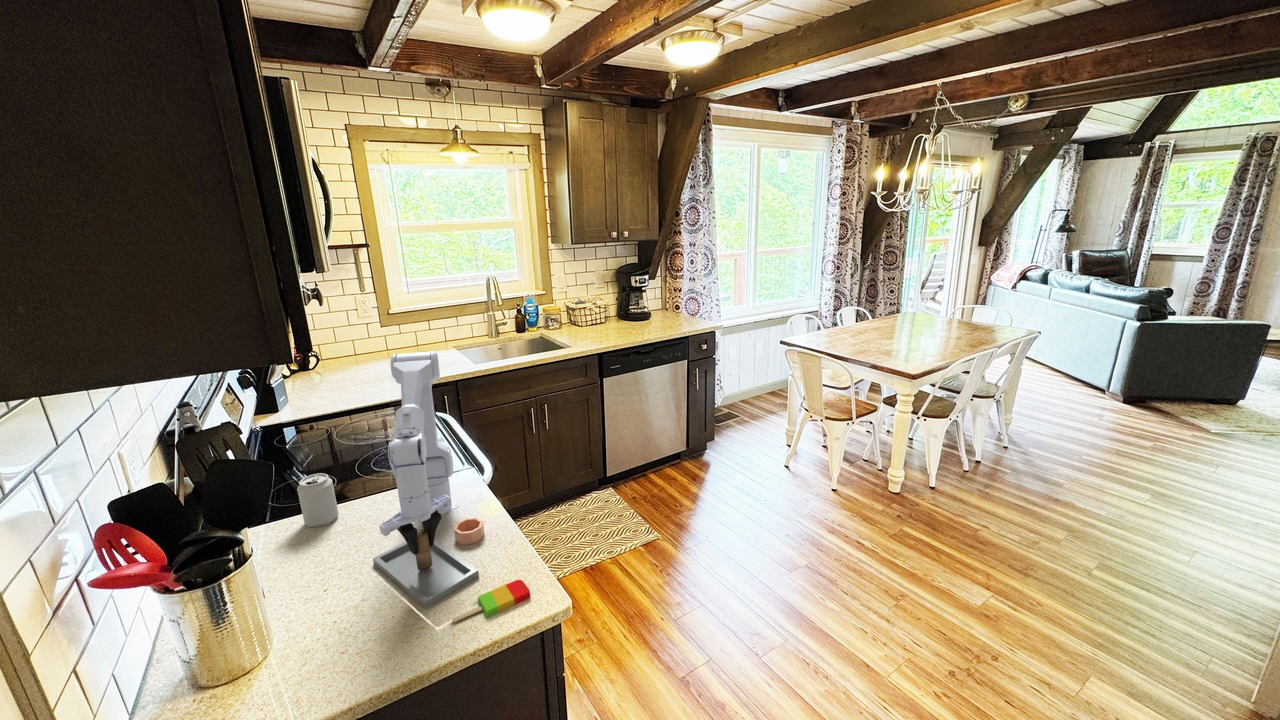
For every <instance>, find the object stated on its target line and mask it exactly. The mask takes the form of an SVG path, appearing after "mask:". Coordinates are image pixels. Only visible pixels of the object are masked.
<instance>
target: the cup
mask: <svg viewBox="0 0 1280 720" xmlns="http://www.w3.org/2000/svg"><path fill="white" fill-rule="evenodd" d="M484 526H485V525H484V520H481V519H480V518H478V517H470V518H464V519H462V520H460V521H458V522H456V523H455V526H454V529H453V532H454V533H453V534H454V541H455V542H456V543H458V544H460V546H463V545H473V544H475V543H477V542H479V541H480V540H482V539H483V538H484V534H485V527H484Z"/></svg>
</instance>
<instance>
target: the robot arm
mask: <svg viewBox="0 0 1280 720" xmlns="http://www.w3.org/2000/svg"><path fill="white" fill-rule="evenodd" d="M439 364H440V363H439V356H438V354H437V352H436V351H435V350H431V351H421V352H419V351H418V352H408V353H393V354H392V355H391V357H390V372H391V376H392V378H393V379H394V381H395V382H396V384H399V385H400V390H401V391H400V393H401V394H400V395H401V397H400V398H401V407H400V408H397V410H396V412H395V413H394V425H393V427H394V428H393V437H392V441H389V443H388V446H387V457H388V461H389V465H390V468H391V471H392V475H393V477H395V481H396V486H397V487H396V488H397V493H398V499H399V505H400V511H399V512H397V513H396V514H395V515H393V516H391V517H390V518H389V519H387V520H385V521H384V522H382V523H380V524H379V531H380V534H382V535H383V536H384V537H387V536H389V535H390V534H391V532H392V533H393V532H394V531H396V530H397V531H398V532H399V533H400V535H401V536H402V537H403V539H404V541H405V542H407V544H408V546H409V548H410V551H411V552H412V553H413V554H414V555H416V554H418V545H417V531H419V530H418V528H416V527H415V526H414V523H416V522H421V525H422V528H423V529H422V530H427V531H428V537H429V544H430V547H431V546H433V545H434V540H435V537H436V533H437V529H438V526H439V524H440V522H441V520H442V515H445V514H447V513H449V512H451V511H453V510H455V509H457V508H459V507H460V505H459V504H457V503H455V502H453V501H452V494H451V489H450V487H451V486H450V479H449V478H451V477H452V476H453V474H454V462H453V461H454V460H453V455H452V451H451V448H450V446H449V445H447V444H445V443H443V442H440V441H439V440H438V432H437V430H438V429H437V425H436V424H437V423H436V415H435V413H436V412H435V406H434V398H433V391H432V387H433V383H434V382H436V381H438V380H440V377H441V375H440V365H439Z"/></svg>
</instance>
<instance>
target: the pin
mask: <svg viewBox="0 0 1280 720" xmlns="http://www.w3.org/2000/svg"><path fill="white" fill-rule="evenodd" d="M417 545H418V554H416V562H417V568H418V570H420V571H424V570H427V569H429V568H431V567H432V558H431V551H430V544H429V537H428V531H427V530H424V529H420V530H417Z"/></svg>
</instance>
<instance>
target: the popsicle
mask: <svg viewBox="0 0 1280 720" xmlns="http://www.w3.org/2000/svg"><path fill="white" fill-rule="evenodd" d="M530 597H531V591H530V589H529V588H528V586H527V585H526V583H525V582H524V581H523V580H522V579H516V580H513V581H511V582H509V583H506V584H504V585H501V586H499V587H497V588H495V589H491V590H490V591H486V592H485V593H482V594H480V595H478V597H477V601H478V605H479V606H478V607H476V608H473V609H471V610H468V611H466V612H465V613H462V614H460V615H457V616H455V617H453V618H452V619H451V622H452V623H453V624H454V623H457V622H459V621H461V620H463V619H466V618H468V617H470V616H473V615H475V614H477V613H479V612H483V613H484V616H485V617H486V618H487V619H488V618H491V617H493V616H495V615H497V614H499V613H502V612H504V611H507V610H508V609H510V608H512V607H515V606H517V605H519V604H522V603H524V602H526V601H528V600H529V599H530ZM523 601H524V602H523ZM521 602H522V603H521ZM516 604H517V605H516Z"/></svg>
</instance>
